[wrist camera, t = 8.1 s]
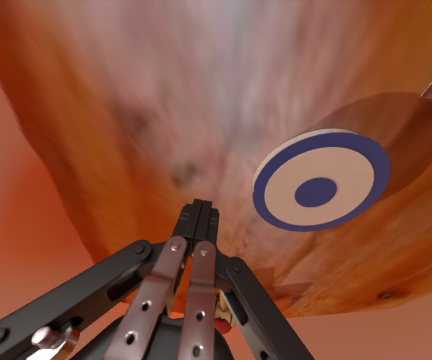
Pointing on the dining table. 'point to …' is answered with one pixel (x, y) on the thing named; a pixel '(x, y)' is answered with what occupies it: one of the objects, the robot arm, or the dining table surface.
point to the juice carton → (428, 92)
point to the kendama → (223, 316)
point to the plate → (320, 180)
